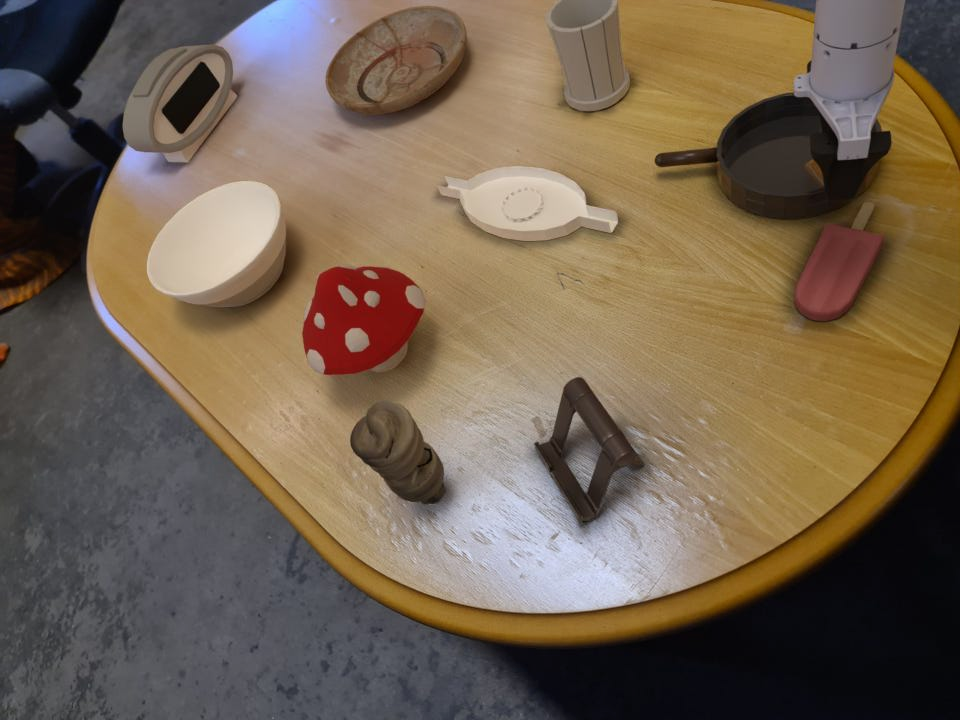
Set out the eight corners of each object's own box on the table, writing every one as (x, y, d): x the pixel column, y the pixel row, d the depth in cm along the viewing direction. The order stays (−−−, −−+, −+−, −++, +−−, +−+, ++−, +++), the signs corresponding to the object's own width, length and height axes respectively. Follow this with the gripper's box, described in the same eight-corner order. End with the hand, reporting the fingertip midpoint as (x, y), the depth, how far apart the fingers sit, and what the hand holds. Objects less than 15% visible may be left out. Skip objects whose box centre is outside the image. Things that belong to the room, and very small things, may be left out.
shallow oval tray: (464, 163, 94) (460, 153, 93) (634, 195, 81) (632, 184, 80) (424, 218, 91) (419, 208, 89) (594, 261, 78) (591, 250, 76)
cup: (545, 113, 95) (523, 33, 85) (566, 70, 99) (547, -11, 89) (620, 113, 90) (605, 29, 81) (639, 68, 94) (627, -18, 84)
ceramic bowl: (311, 121, 112) (295, 95, 108) (391, 29, 120) (379, 2, 116) (422, 140, 100) (408, 112, 96) (502, 37, 108) (493, 7, 104)
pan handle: (724, 154, 78) (724, 143, 77) (724, 164, 77) (724, 153, 76) (655, 161, 81) (654, 150, 80) (654, 170, 80) (653, 160, 79)
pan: (871, 108, 78) (875, 82, 75) (883, 214, 70) (889, 189, 67) (719, 125, 83) (718, 101, 81) (715, 224, 75) (714, 201, 73)
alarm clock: (180, 176, 115) (126, 114, 105) (155, 175, 118) (100, 114, 108) (250, 84, 125) (206, 18, 115) (225, 85, 128) (180, 21, 118)
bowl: (168, 284, 100) (128, 246, 93) (276, 203, 103) (245, 160, 96) (216, 359, 88) (173, 322, 82) (336, 265, 91) (305, 221, 84)
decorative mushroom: (449, 297, 82) (398, 206, 70) (448, 397, 74) (391, 314, 62) (341, 321, 85) (275, 238, 73) (329, 419, 77) (253, 344, 65)
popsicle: (900, 203, 68) (844, 319, 63) (897, 214, 69) (842, 329, 64) (842, 192, 71) (784, 303, 66) (841, 203, 72) (783, 312, 67)
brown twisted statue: (442, 457, 70) (380, 381, 58) (476, 491, 67) (418, 418, 55) (401, 497, 69) (329, 427, 57) (433, 533, 66) (364, 468, 54)
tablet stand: (536, 452, 67) (514, 410, 61) (607, 411, 67) (591, 365, 61) (581, 527, 62) (562, 490, 55) (658, 482, 62) (647, 440, 55)
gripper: (795, -21, 56) (788, 115, 67) (798, 96, 49) (790, 228, 60) (895, -39, 53) (871, 106, 64) (915, 83, 46) (884, 223, 57)
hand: (838, 165), depth 62 cm, fingers open, 7 cm apart
